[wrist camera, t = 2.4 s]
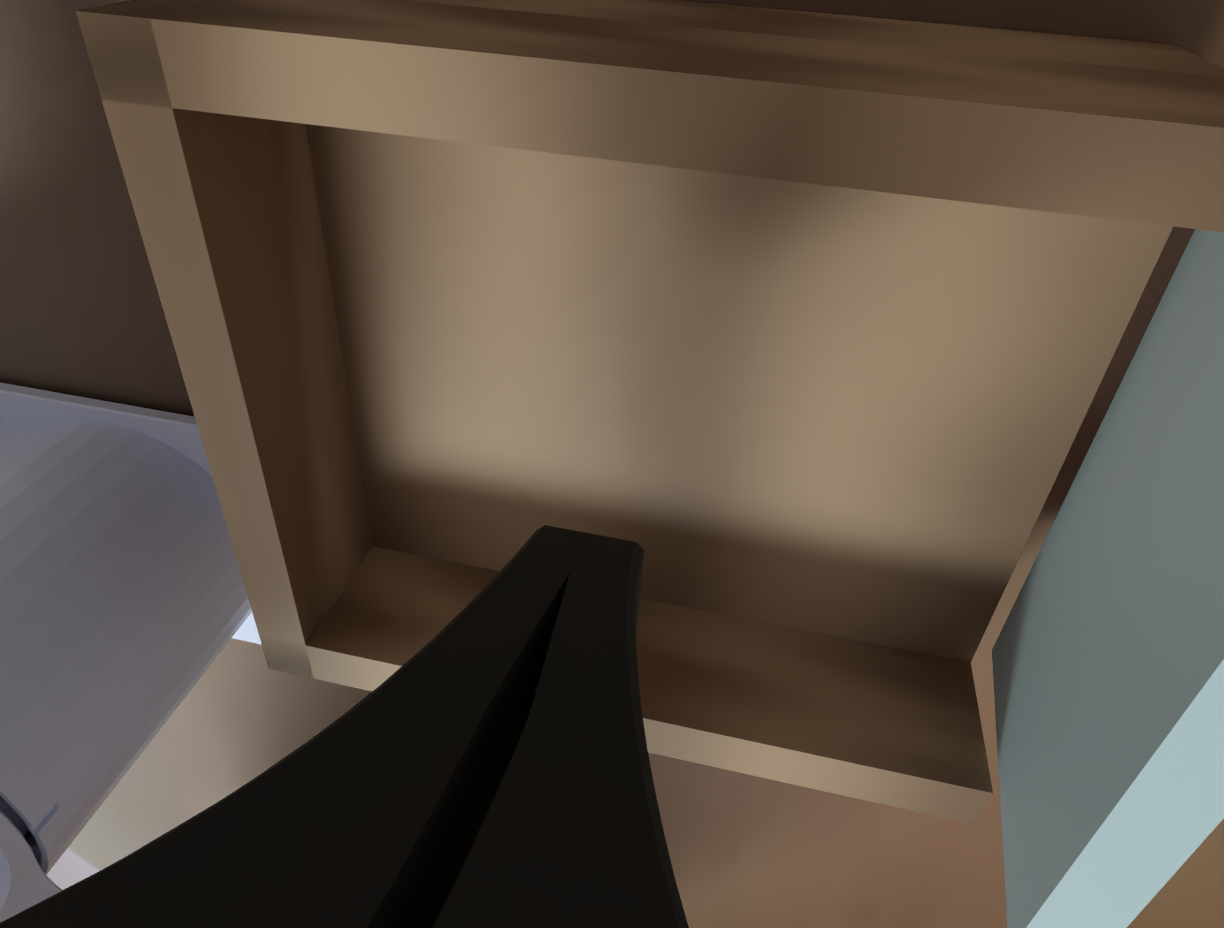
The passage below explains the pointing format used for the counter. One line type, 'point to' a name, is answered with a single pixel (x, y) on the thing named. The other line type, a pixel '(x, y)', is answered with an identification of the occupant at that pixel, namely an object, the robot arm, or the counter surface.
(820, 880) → the counter surface
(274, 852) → the robot arm
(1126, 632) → the panel
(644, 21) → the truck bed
